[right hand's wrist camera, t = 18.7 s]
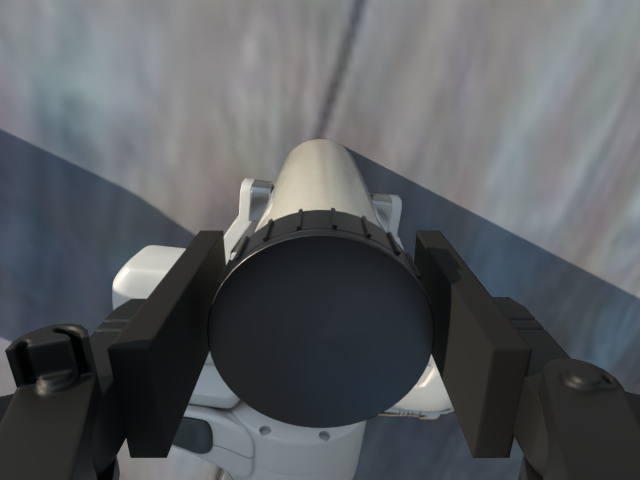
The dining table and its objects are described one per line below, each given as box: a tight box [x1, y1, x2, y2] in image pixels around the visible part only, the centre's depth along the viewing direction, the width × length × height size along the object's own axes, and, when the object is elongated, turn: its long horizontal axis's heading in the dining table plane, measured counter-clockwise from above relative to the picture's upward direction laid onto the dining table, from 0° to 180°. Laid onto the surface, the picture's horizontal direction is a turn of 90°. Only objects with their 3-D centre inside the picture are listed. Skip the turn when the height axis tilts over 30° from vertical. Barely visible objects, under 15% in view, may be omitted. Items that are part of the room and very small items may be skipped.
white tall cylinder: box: [254, 139, 387, 233], centre depth 19 cm, size 5×5×17 cm
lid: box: [207, 208, 435, 428], centre depth 11 cm, size 6×6×2 cm
